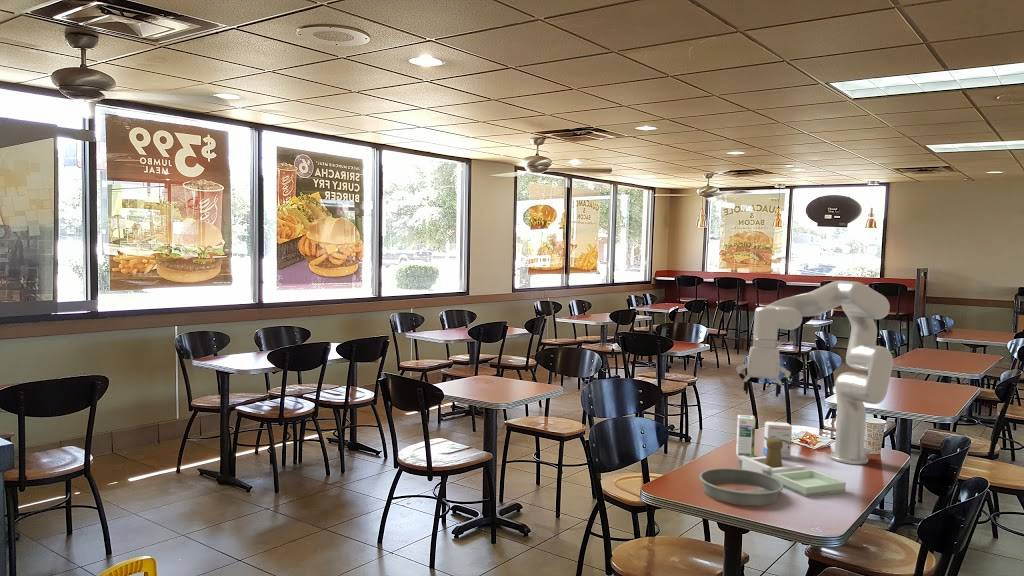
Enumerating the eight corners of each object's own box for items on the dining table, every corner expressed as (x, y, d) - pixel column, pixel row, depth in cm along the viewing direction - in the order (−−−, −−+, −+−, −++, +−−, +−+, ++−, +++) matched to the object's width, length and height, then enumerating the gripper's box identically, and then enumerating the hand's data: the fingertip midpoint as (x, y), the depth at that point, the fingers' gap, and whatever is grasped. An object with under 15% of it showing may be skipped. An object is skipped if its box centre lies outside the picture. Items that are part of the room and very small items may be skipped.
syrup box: (737, 457, 263) (739, 417, 262) (735, 452, 268) (737, 413, 268) (753, 458, 261) (755, 418, 261) (752, 454, 267) (754, 415, 266)
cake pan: (801, 501, 218) (802, 487, 218) (738, 513, 207) (739, 497, 207) (741, 477, 240) (742, 464, 240) (682, 486, 229) (682, 472, 229)
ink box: (766, 456, 265) (767, 424, 264) (762, 452, 270) (764, 421, 269) (790, 458, 264) (792, 426, 263) (787, 454, 269) (788, 422, 268)
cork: (773, 474, 243) (775, 442, 242) (759, 469, 248) (761, 437, 248) (786, 472, 246) (788, 440, 245) (772, 467, 251) (774, 436, 251)
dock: (774, 463, 256) (775, 452, 256) (804, 475, 243) (805, 463, 243) (737, 467, 250) (738, 455, 250) (766, 479, 237) (766, 467, 237)
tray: (811, 478, 241) (811, 469, 240) (845, 491, 228) (845, 482, 227) (772, 482, 235) (773, 473, 234) (805, 497, 222) (805, 487, 221)
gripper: (791, 344, 245) (788, 395, 246) (737, 340, 251) (734, 390, 252) (792, 347, 238) (789, 399, 239) (737, 343, 244) (734, 394, 244)
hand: (761, 394), depth 245 cm, fingers open, 9 cm apart
